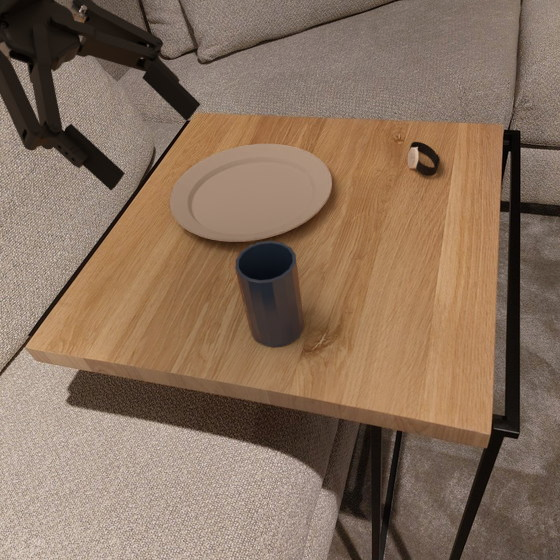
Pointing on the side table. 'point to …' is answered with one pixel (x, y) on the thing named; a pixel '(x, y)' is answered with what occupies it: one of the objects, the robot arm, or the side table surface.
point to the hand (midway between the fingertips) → (158, 145)
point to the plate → (250, 192)
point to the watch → (415, 163)
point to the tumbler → (271, 292)
